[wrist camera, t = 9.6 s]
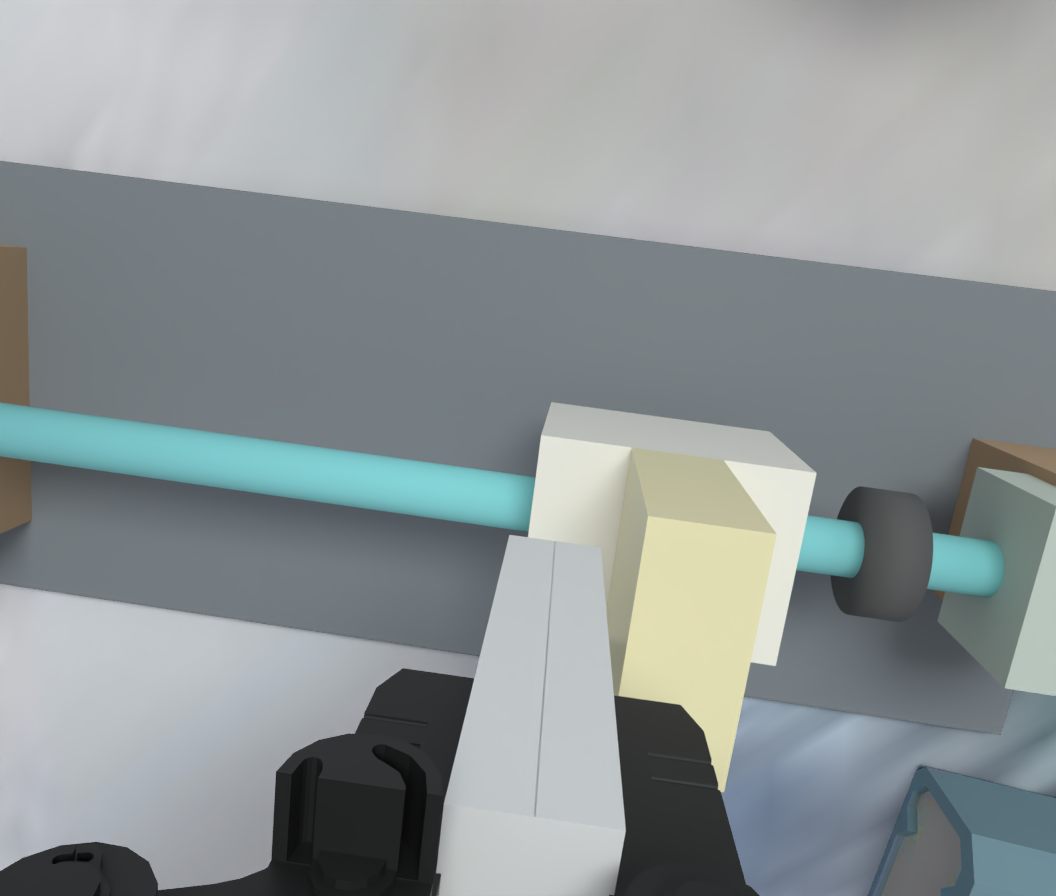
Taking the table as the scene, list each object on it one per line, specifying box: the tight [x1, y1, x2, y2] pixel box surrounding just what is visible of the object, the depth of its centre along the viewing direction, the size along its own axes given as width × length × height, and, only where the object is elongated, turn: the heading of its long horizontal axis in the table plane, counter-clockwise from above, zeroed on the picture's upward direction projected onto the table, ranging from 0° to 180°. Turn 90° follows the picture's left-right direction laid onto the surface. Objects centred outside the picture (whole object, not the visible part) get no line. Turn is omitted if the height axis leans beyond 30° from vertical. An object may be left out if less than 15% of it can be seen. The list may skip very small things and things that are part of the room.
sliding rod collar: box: [528, 402, 817, 792], centre depth 17 cm, size 6×5×10 cm
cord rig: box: [0, 161, 1056, 735], centre depth 22 cm, size 36×14×7 cm, turn 83°
